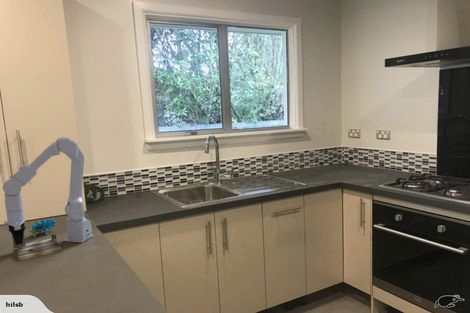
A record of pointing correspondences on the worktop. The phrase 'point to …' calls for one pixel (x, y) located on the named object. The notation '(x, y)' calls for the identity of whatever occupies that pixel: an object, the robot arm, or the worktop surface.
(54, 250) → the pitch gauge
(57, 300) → the worktop surface
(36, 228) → the blue bumpy figurine
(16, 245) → the grey rectangular block
